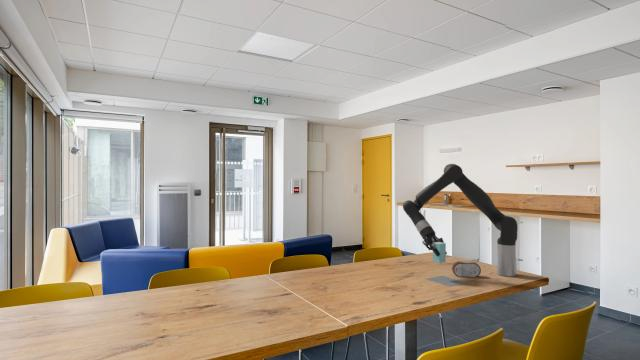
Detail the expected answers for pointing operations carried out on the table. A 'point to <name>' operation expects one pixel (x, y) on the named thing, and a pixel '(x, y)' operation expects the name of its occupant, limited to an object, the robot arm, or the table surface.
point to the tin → (466, 269)
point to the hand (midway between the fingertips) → (442, 255)
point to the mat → (446, 281)
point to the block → (442, 250)
